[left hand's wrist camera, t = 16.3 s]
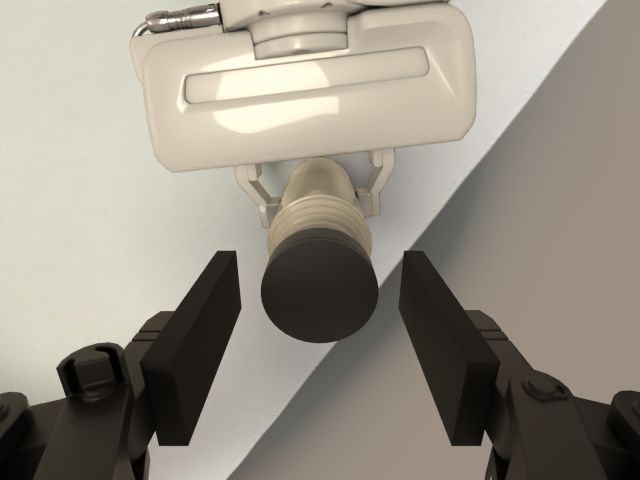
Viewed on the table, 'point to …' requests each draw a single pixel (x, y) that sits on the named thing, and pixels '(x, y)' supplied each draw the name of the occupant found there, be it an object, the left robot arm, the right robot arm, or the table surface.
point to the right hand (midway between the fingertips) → (321, 219)
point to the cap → (319, 286)
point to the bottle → (319, 204)
